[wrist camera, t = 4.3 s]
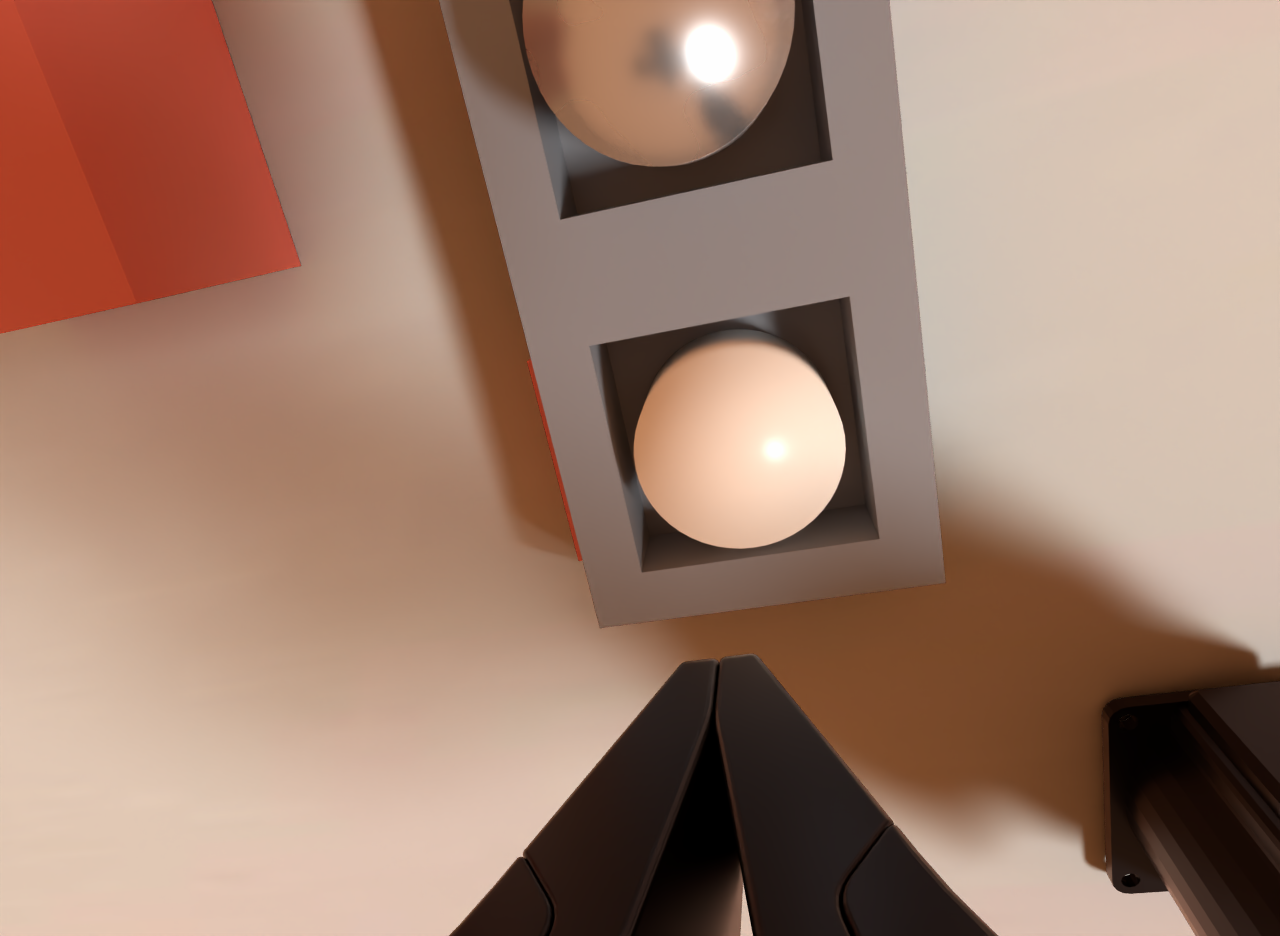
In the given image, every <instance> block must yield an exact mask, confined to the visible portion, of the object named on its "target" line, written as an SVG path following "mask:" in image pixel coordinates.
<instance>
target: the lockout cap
mask: <svg viewBox="0 0 1280 936" xmlns="http://www.w3.org/2000/svg"><path fill="white" fill-rule="evenodd" d="M298 266H301V264H300V261H299V258H298V255H297V252H296V249H295V246H294V243H293V240H292V237H291V234H290V231H289V228H288V225H287V223H286V220H285V217H284V214H283V211H282V208H281V205H280V202H279V199H278V196H277V193H276V190H275V187H274V184H273V181H272V178H271V175H270V172H269V169H268V166H267V163H266V160H265V157H264V154H263V151H262V148H261V145H260V142H259V139H258V137H257V134H256V131H255V128H254V125H253V122H252V119H251V116H250V113H249V110H248V107H247V104H246V101H245V98H244V95H243V92H242V89H241V86H240V83H239V80H238V77H237V74H236V71H235V68H234V65H233V62H232V59H231V56H230V53H229V51H228V48H227V45H226V42H225V39H224V36H223V33H222V30H221V27H220V24H219V21H218V18H217V15H216V12H215V9H214V6H213V3H212V0H0V334H1V333H5V332H10V331H14V330H19V329H23V328H28V327H32V326H37V325H41V324H46V323H50V322H55V321H59V320H64V319H69V318H73V317H78V316H82V315H87V314H91V313H96V312H100V311H105V310H109V309H114V308H118V307H123V306H127V305H132V304H136V303H141V302H145V301H150V300H154V299H158V298H163V297H167V296H171V295H176V294H180V293H184V292H189V291H193V290H198V289H202V288H206V287H211V286H215V285H219V284H224V283H228V282H233V281H237V280H241V279H246V278H250V277H254V276H259V275H263V274H268V273H272V272H276V271H281V270H285V269H289V268H294V267H298Z"/></svg>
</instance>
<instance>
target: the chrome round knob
mask: <svg viewBox="0 0 1280 936" xmlns="http://www.w3.org/2000/svg"><path fill="white" fill-rule="evenodd" d="M794 14H795V1H794V0H523V13H522V18H523V35H524V41H525V47H526V53H527V57H528V60H529V64H530V67H531V71H532V74H533V76H534V78H535V81H536V83H537V85H538V88H539V90H540V92H541V94H542V95H543V97H544V99H545V101H546V102H547V104H548V106H549V107H550V109H551V110H552V111H553V113H554V114H555V115H556V117H557V118H558V119H559V121H560V122H561V123H562V124H563V125H564V126H565V127H566V128H567V129H568V130H569V131H570V132H571V133H572V134H573V135H574V136H576V137H577V138H578V139H579V140H581V141H582V142H583V143H584V144H586V145H588V146H589V147H591V148H593V149H594V150H596V151H598V152H599V153H601V154H603V155H606V156H608V157H610V158H613V159H615V160H618V161H622V162H626V163H629V164H634V165H642V166H658V167H660V166H679V165H686V164H690V163H694V162H697V161H700V160H703V159H705V158H708V157H710V156H712V155H714V154H717V153H718V152H720V151H721V150H723V149H725V148H726V147H728V146H729V145H731V144H732V143H733V142H734V141H735V140H737V139H738V138H739V137H740V136H742V135H743V134H744V132H745V131H746V130H747V129H748V128H749V127H750V126H751V125H752V124H753V123H754V121H755V120H756V119H757V117H758V116H759V115H760V113H761V112H762V111H763V109H764V107H765V105H766V104H767V102H768V100H769V98H770V97H771V95H772V93H773V91H774V90H775V88H776V86H777V84H778V82H779V79H780V77H781V75H782V72H783V70H784V67H785V65H786V61H787V58H788V54H789V51H790V47H791V41H792V35H793V29H794Z"/></svg>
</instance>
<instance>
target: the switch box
mask: <svg viewBox="0 0 1280 936" xmlns="http://www.w3.org/2000/svg"><path fill="white" fill-rule="evenodd" d="M794 1H795V14H794V29H793V35H792V41H791V47H790V51H789V54H788V58H787V61H786V65H785V67H784V70H783V72H782V75H781V77H780V79H779V82H778V84H777V86H776V88H775V90H774V91H773V93H772V95H771V97H770V98H769V100H768V102H767V104H766V105H765V107H764V109H763V111H762V112H761V113H760V115H759V116H758V117H757V119H756V120H755V121H754V123H753V124H752V125H751V126H750V127H749V128H748V129H747V130H746V131H745V132H744V134H743V135H742V136H740V137H739V138H738V139H737V140H735V141H734V142H733V143H732V144H731V145H729V146H728V147H726V148H725V149H723V150H721V151H720V152H718V153H717V154H714V155H712V156H710V157H708V158H705V159H703V160H700V161H697V162H694V163H690V164H686V165H679V166H660V167H658V166H642V165H634V164H629V163H626V162H622V161H618V160H615V159H613V158H610V157H608V156H606V155H603V154H601V153H599V152H598V151H596V150H594V149H593V148H591V147H589V146H588V145H586V144H584V143H583V142H582V141H581V140H579V139H578V138H577V137H576V136H574V135H573V134H572V133H571V132H570V131H569V130H568V129H567V128H566V127H565V126H564V125H563V124H562V123H561V122H560V121H559V119H558V118H557V117H556V115H555V114H554V113H553V111H552V110H551V109H550V107H549V106H548V104H547V102H546V101H545V99H544V97H543V95H542V94H541V92H540V90H539V88H538V85H537V83H536V81H535V78H534V76H533V74H532V71H531V67H530V64H529V60H528V57H527V53H526V47H525V41H524V35H523V18H522V13H523V0H439V3H440V6H441V10H442V14H443V18H444V22H445V26H446V30H447V34H448V38H449V42H450V45H451V49H452V53H453V57H454V61H455V65H456V69H457V73H458V77H459V81H460V84H461V88H462V92H463V96H464V100H465V104H466V108H467V112H468V116H469V120H470V123H471V127H472V131H473V135H474V139H475V143H476V147H477V151H478V155H479V159H480V162H481V166H482V170H483V174H484V178H485V182H486V186H487V190H488V194H489V198H490V201H491V205H492V209H493V213H494V217H495V221H496V225H497V229H498V233H499V237H500V240H501V244H502V248H503V252H504V256H505V260H506V264H507V268H508V272H509V276H510V279H511V283H512V287H513V291H514V295H515V299H516V303H517V307H518V311H519V315H520V318H521V322H522V326H523V330H524V334H525V338H526V342H527V346H528V350H529V354H530V357H531V358H530V359H529V360H528V361H527V363H528V367H529V371H530V375H531V379H532V383H533V386H534V390H535V394H536V398H537V402H538V406H539V410H540V414H541V417H542V421H543V425H544V429H545V433H546V437H547V441H548V445H549V448H550V452H551V456H552V460H553V464H554V468H555V472H556V475H557V479H558V483H559V487H560V491H561V495H562V499H563V503H564V506H565V510H566V514H567V518H568V522H569V526H570V530H571V534H572V537H573V541H574V545H575V549H576V553H577V557H578V561H582V560H583V564H584V568H585V572H586V576H587V580H588V584H589V587H590V591H591V595H592V599H593V603H594V607H595V611H596V615H597V619H598V623H599V626H600V628H605V627H612V626H620V625H628V624H635V623H643V622H651V621H658V620H666V619H674V618H681V617H689V616H697V615H704V614H712V613H720V612H727V611H735V610H743V609H750V608H758V607H766V606H773V605H781V604H789V603H796V602H804V601H812V600H819V599H827V598H835V597H842V596H850V595H858V594H865V593H873V592H881V591H888V590H896V589H904V588H911V587H919V586H927V585H934V584H942V583H946V581H945V571H944V560H943V550H942V540H941V529H940V519H939V509H938V498H937V488H936V478H935V467H934V457H933V447H932V436H931V426H930V415H929V405H928V395H927V384H926V374H925V364H924V353H923V343H922V333H921V322H920V312H919V302H918V291H917V281H916V270H915V260H914V250H913V239H912V229H911V219H910V208H909V198H908V188H907V177H906V167H905V157H904V146H903V136H902V125H901V115H900V105H899V94H898V84H897V74H896V63H895V53H894V43H893V32H892V22H891V12H890V1H889V0H794ZM732 329H747V330H754V331H761V332H764V333H768V334H771V335H774V336H776V337H779V338H781V339H783V340H785V341H787V342H788V343H790V344H792V345H793V346H795V347H796V348H797V349H799V350H800V351H801V352H802V353H804V354H805V355H806V356H807V357H808V358H809V359H810V360H811V361H812V363H813V364H814V365H815V367H816V368H817V369H818V371H819V372H820V374H821V376H822V378H823V380H824V381H825V383H826V385H827V388H828V390H829V392H830V394H831V397H832V399H833V401H834V403H835V406H836V408H837V410H838V413H839V416H840V418H841V421H842V425H843V430H844V434H845V447H846V451H845V463H844V467H843V472H842V476H841V479H840V481H839V484H838V487H837V489H836V491H835V493H834V494H833V496H832V498H831V500H830V501H829V503H828V504H827V505H826V507H825V508H824V509H823V511H822V512H821V513H820V514H819V515H818V516H817V517H816V518H815V519H814V520H813V521H812V522H810V523H809V524H808V525H807V526H806V527H804V528H803V529H801V530H800V531H798V532H797V533H795V534H793V535H791V536H789V537H787V538H785V539H783V540H781V541H778V542H775V543H772V544H769V545H765V546H760V547H754V548H742V549H740V548H725V547H718V546H713V545H710V544H706V543H703V542H700V541H698V540H695V539H693V538H690V537H689V536H687V535H685V534H683V533H682V532H680V531H678V530H677V529H676V528H674V527H673V526H671V525H670V524H669V523H668V522H667V521H666V520H665V519H664V518H662V517H661V516H660V515H659V513H658V512H657V511H656V510H655V509H654V507H653V506H652V505H651V503H650V502H649V500H648V498H647V497H646V495H645V493H644V491H643V489H642V487H641V485H640V482H639V479H638V476H637V472H636V467H635V461H634V439H635V431H636V428H637V424H638V420H639V417H640V414H641V412H642V409H643V406H644V403H645V400H646V398H647V395H648V392H649V390H650V387H651V385H652V383H653V380H654V379H655V377H656V375H657V374H658V372H659V370H660V369H661V368H662V367H663V365H664V364H665V363H666V361H667V360H668V359H669V358H670V357H671V356H673V355H674V354H675V353H676V352H677V351H678V350H680V349H681V348H682V347H684V346H685V345H686V344H688V343H690V342H692V341H694V340H695V339H697V338H700V337H702V336H705V335H707V334H711V333H715V332H718V331H724V330H732Z"/></svg>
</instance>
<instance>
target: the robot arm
mask: <svg viewBox="0 0 1280 936" xmlns="http://www.w3.org/2000/svg"><path fill="white" fill-rule="evenodd" d="M1125 715H1131V716H1130V717H1129V718H1128V719H1127V720H1124V721H1119V719H1120V718H1121V717H1123V716H1125ZM1102 740H1103V775H1104V811H1105V846H1106V872H1107V875H1108V877H1109V879H1110V881H1111V882H1112V884H1113V886H1114V887H1115V888H1116V889H1117V890H1118V891H1120V892H1122V893H1129V894H1133V893H1148V892H1163V891H1169V892H1170V894H1171V896H1172V897H1173V899H1174V901H1175V902H1176V904H1177V906H1178V907H1179V909H1180V911H1181V912H1182V914H1183V915H1184V917H1185V919H1186V920H1187V922H1188V924H1189V925H1190V927H1191V929H1192V930H1193V932H1194V934H1195V935H1196V936H1280V681H1277V682H1267V683H1258V684H1248V685H1239V686H1229V687H1219V688H1210V689H1200V690H1191V691H1181V692H1172V693H1162V694H1153V695H1143V696H1133V697H1124V698H1118V699H1115V700H1112V701H1111V702H1109V703H1108V704H1107V705H1106V706H1105V707H1104V709H1103V712H1102ZM1127 874H1130V875H1127ZM1125 875H1127V876H1125ZM743 884H744V889H745V895H746V900H747V905H748V911H749V916H750V922H751V927H752V932H753V936H998V935H997V934H996V933H995V932H994V931H993V930H992V929H991V928H990V927H989V926H988V925H987V924H986V923H985V922H984V921H982V920H981V919H980V918H979V917H978V916H977V915H976V914H975V913H974V912H973V911H972V910H971V909H970V908H969V907H968V906H967V905H966V904H965V903H964V902H963V901H962V900H961V899H960V898H959V897H958V896H957V895H956V894H955V893H954V892H953V891H952V890H951V888H950V887H949V886H948V885H947V884H946V883H945V882H944V880H943V879H942V878H941V877H940V876H939V875H938V874H937V873H936V871H935V870H934V869H933V868H932V867H931V866H930V865H929V863H928V862H927V861H926V860H925V859H924V858H923V857H922V856H921V854H920V853H919V852H918V851H917V850H916V848H915V847H914V846H913V845H912V844H911V842H910V841H909V840H908V839H907V837H906V836H905V835H904V834H903V832H902V831H901V830H900V829H899V828H898V827H897V826H895V825H894V823H893V821H892V820H891V818H890V817H889V816H888V815H887V813H886V812H885V811H884V810H883V809H882V807H881V806H880V805H879V804H878V802H877V801H876V800H875V799H874V798H873V796H872V795H871V794H870V793H869V791H868V790H867V789H866V788H865V787H864V785H863V784H862V783H861V782H860V780H859V779H858V778H857V777H856V775H855V774H854V773H853V772H852V771H851V769H850V768H849V767H848V766H847V764H846V763H845V762H844V761H843V760H842V758H841V757H840V756H839V755H838V753H837V752H836V751H835V750H834V749H833V747H832V746H831V745H830V744H829V742H828V741H827V740H826V739H825V737H824V736H823V735H822V734H821V733H820V731H819V730H818V729H817V728H816V726H815V725H814V724H813V723H812V722H811V720H810V719H809V718H808V717H807V715H806V714H805V713H804V712H803V711H802V709H801V708H800V707H799V706H798V704H797V703H796V702H795V701H794V699H793V698H792V697H791V696H790V695H789V693H788V692H787V691H786V690H785V688H784V687H783V686H782V685H781V684H780V682H779V681H778V680H777V679H776V677H775V676H774V675H773V674H772V673H771V671H770V670H769V669H768V668H767V666H766V665H765V664H764V663H763V661H762V660H761V659H760V658H759V657H758V656H757V655H755V654H744V655H736V656H728V657H724V658H722V659H721V661H720V663H719V662H718V661H717V660H716V659H704V660H696V661H688V662H684V663H682V664H681V665H680V666H679V667H678V668H677V669H676V670H675V672H674V673H673V674H672V675H671V676H670V678H669V679H668V680H667V681H666V682H665V684H664V685H663V686H662V687H661V688H660V690H659V691H658V692H657V693H656V694H655V695H654V697H653V698H652V699H651V700H650V701H649V703H648V704H647V705H646V706H645V707H644V709H643V710H642V711H641V712H640V713H639V714H638V716H637V717H636V718H635V719H634V720H633V722H632V723H631V724H630V725H629V726H628V728H627V729H626V730H625V731H624V732H623V734H622V735H621V736H620V737H619V738H618V739H617V741H616V742H615V743H614V744H613V745H612V747H611V748H610V749H609V750H608V751H607V753H606V754H605V755H604V756H603V757H602V759H601V760H600V761H599V762H598V763H597V764H596V766H595V767H594V768H593V769H592V770H591V772H590V773H589V774H588V775H587V776H586V778H585V779H584V780H583V781H582V782H581V784H580V785H579V786H578V787H577V788H576V789H575V791H574V792H573V793H572V794H571V795H570V797H569V798H568V799H567V800H566V801H565V803H564V804H563V805H562V806H561V807H560V809H559V810H558V811H557V812H556V813H555V814H554V816H553V817H552V818H551V819H550V820H549V822H548V823H547V824H546V825H545V826H544V828H543V829H542V830H541V831H540V832H539V833H538V835H537V836H536V837H535V838H534V839H533V841H532V842H531V843H530V844H529V845H528V847H527V848H526V849H525V850H524V852H523V857H518V858H517V859H516V860H515V862H514V863H513V864H512V865H511V866H510V868H509V869H508V870H507V871H506V872H505V874H504V875H503V876H502V877H501V878H500V879H499V881H498V882H497V883H496V884H495V885H494V886H493V888H492V889H491V890H490V891H489V892H488V893H487V894H486V895H485V897H484V898H483V899H482V900H481V901H480V902H479V903H478V904H477V906H476V907H475V908H474V909H473V910H472V911H471V912H470V914H469V915H468V916H467V917H466V918H465V919H464V920H463V921H462V923H461V924H460V925H459V926H458V927H457V928H456V929H455V930H454V931H453V932H452V933H451V934H450V935H449V936H740V931H741V912H742V893H743Z"/></svg>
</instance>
